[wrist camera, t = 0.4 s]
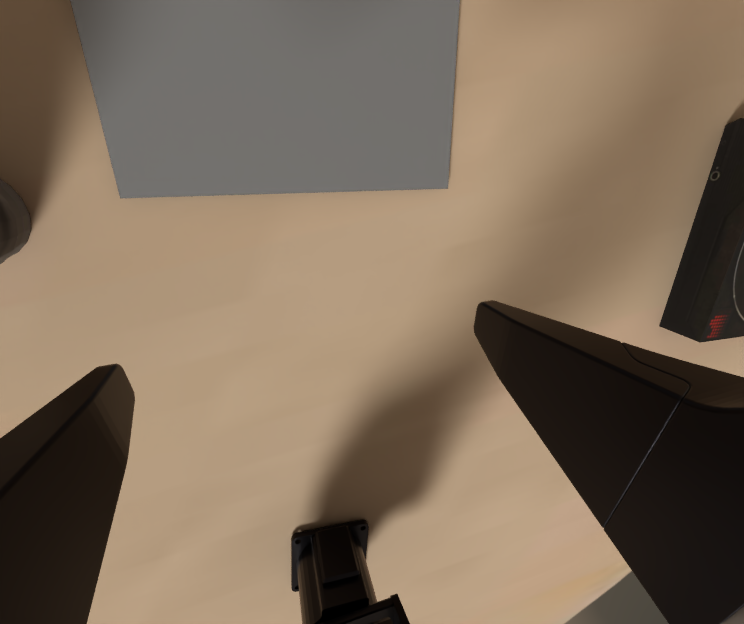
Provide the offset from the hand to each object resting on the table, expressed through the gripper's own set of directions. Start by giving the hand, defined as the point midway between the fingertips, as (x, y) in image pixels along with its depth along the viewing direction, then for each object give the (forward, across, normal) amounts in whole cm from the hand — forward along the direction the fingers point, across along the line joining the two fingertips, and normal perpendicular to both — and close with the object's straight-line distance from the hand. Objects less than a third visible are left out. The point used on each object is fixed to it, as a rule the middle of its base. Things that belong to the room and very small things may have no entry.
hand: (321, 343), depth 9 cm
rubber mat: (+16, -2, -8) cm, 18 cm away
